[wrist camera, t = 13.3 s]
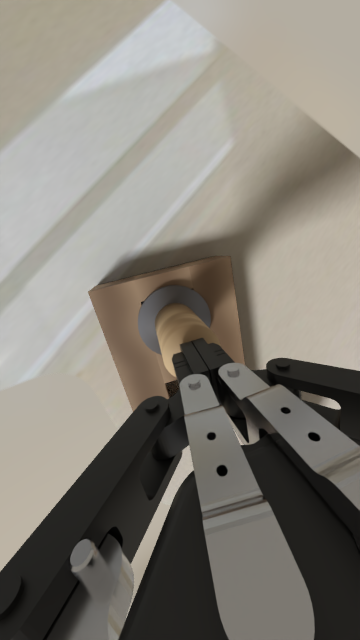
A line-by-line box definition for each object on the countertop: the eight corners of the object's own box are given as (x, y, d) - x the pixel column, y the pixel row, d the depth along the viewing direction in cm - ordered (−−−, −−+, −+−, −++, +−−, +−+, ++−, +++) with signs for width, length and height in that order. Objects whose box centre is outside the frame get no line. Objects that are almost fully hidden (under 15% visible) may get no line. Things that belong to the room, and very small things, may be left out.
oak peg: (191, 273, 23) (235, 288, 13) (202, 329, 25) (247, 381, 15) (129, 289, 22) (123, 319, 12) (147, 345, 24) (154, 412, 14)
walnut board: (215, 255, 23) (230, 256, 19) (236, 388, 29) (250, 408, 25) (96, 285, 22) (87, 291, 18) (144, 418, 28) (145, 444, 24)
